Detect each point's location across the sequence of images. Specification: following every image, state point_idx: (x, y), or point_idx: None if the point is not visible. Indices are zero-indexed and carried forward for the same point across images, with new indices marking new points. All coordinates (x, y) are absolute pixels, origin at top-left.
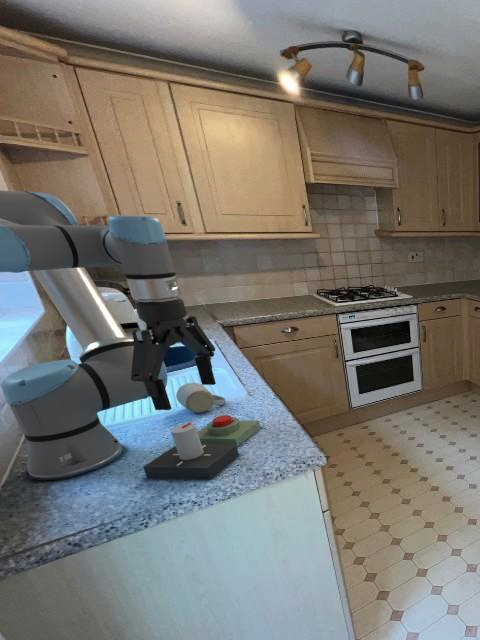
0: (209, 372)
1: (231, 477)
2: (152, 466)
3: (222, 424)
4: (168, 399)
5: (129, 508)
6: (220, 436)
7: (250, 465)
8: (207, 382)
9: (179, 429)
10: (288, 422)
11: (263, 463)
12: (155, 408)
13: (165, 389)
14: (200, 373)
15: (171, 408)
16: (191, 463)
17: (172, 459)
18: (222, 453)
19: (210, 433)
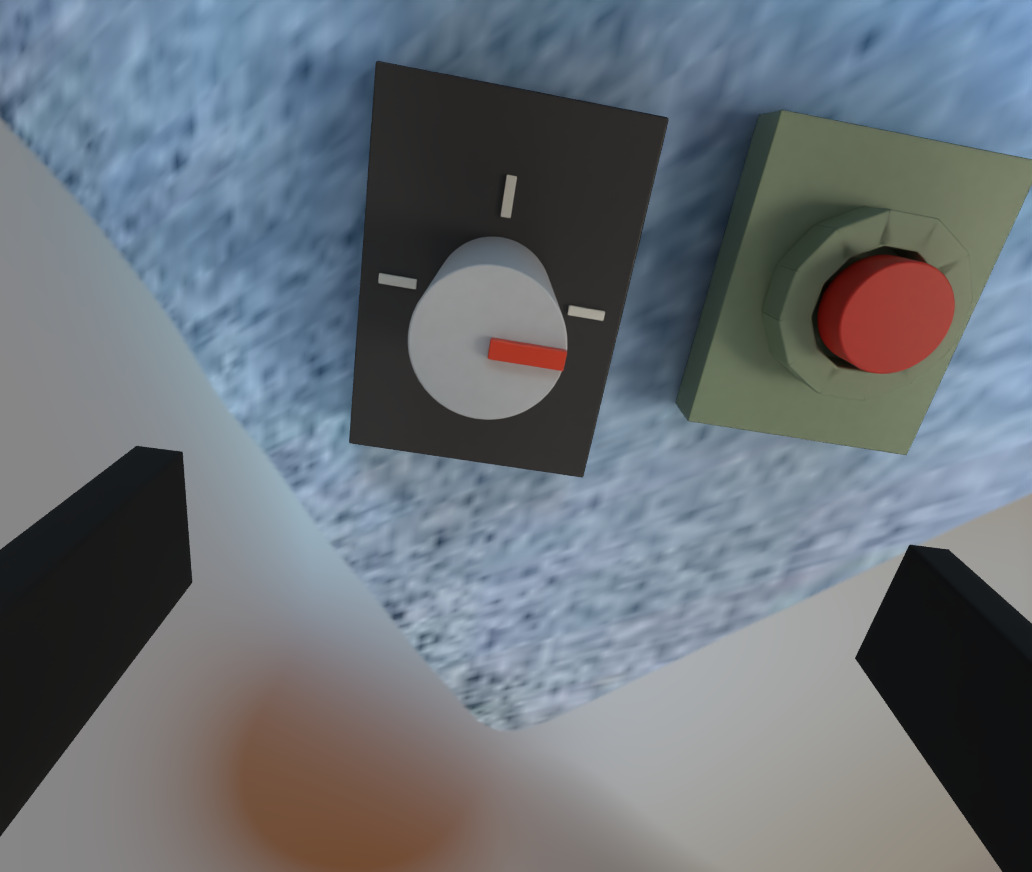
0: (965, 796)
1: (378, 493)
2: (377, 125)
3: (827, 336)
4: (125, 664)
5: (128, 163)
6: (747, 321)
7: (472, 530)
8: (898, 626)
9: (464, 331)
10: (900, 548)
11: (483, 573)
12: (129, 457)
13: (26, 799)
14: (1013, 679)
15: (190, 581)
16: (400, 342)
17: (454, 205)
18: (493, 450)
19: (793, 251)
